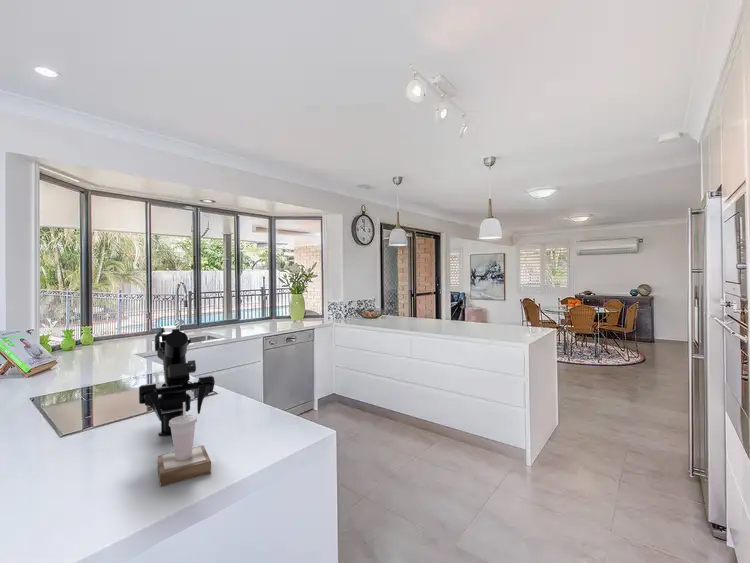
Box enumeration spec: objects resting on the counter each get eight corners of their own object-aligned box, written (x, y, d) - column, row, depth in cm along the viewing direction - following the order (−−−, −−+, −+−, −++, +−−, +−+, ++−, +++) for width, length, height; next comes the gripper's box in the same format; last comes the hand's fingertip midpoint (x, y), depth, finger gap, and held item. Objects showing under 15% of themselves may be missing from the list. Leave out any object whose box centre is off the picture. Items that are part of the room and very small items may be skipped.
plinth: (157, 467, 98) (157, 454, 98) (203, 456, 104) (203, 444, 104) (160, 486, 89) (160, 472, 89) (210, 473, 95) (210, 460, 95)
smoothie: (179, 465, 93) (178, 407, 92) (163, 459, 96) (162, 403, 96) (202, 454, 98) (202, 400, 98) (187, 449, 101) (186, 396, 101)
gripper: (138, 355, 102) (140, 408, 93) (213, 348, 112) (221, 395, 103) (138, 378, 109) (139, 429, 100) (208, 369, 119) (215, 415, 110)
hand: (180, 416), depth 103 cm, fingers open, 9 cm apart
